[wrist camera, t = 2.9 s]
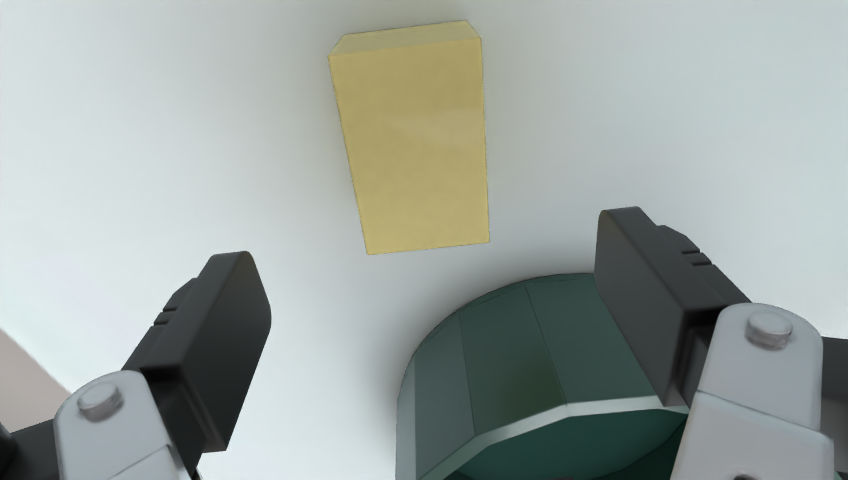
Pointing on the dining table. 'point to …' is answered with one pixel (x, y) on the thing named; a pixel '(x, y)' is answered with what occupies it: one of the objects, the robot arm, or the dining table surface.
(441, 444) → the pot
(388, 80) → the butter
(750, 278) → the dining table surface
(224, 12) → the dining table surface
